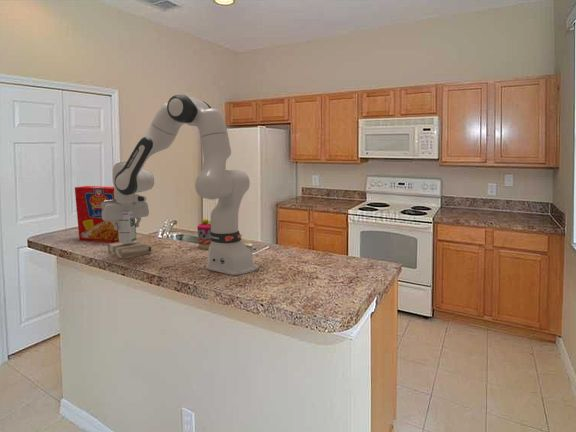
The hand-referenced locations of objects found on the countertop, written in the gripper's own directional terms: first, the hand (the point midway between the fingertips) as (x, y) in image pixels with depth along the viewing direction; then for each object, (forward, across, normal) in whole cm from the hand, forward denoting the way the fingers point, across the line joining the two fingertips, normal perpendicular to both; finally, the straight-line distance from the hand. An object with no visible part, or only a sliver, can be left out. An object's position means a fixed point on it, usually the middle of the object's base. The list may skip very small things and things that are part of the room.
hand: (127, 228), depth 175 cm
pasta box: (+12, +3, +32) cm, 35 cm away
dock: (+12, 0, 0) cm, 12 cm away
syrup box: (+6, 0, 0) cm, 7 cm away
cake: (+12, +33, -16) cm, 38 cm away
